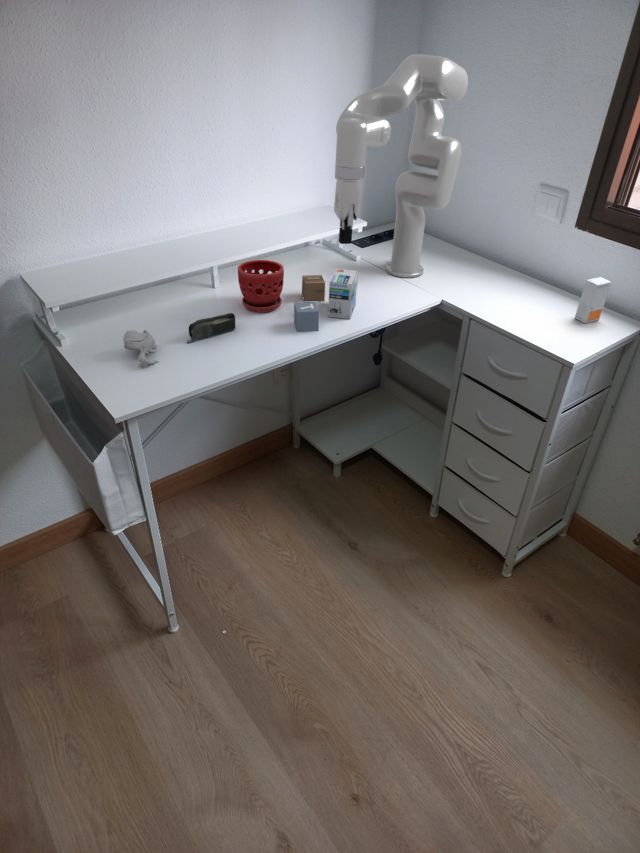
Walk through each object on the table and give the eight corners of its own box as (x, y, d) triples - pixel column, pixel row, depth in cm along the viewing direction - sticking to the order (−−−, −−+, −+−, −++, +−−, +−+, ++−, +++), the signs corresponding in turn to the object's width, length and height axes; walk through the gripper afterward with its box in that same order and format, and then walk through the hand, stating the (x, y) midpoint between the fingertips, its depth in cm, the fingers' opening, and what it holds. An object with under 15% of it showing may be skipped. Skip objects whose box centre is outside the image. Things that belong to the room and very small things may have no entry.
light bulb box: (350, 320, 178) (352, 284, 172) (327, 317, 179) (328, 281, 173) (356, 304, 187) (358, 270, 180) (334, 302, 188) (335, 267, 181)
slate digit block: (294, 322, 176) (294, 302, 172) (315, 321, 177) (315, 301, 173) (296, 332, 171) (297, 311, 167) (318, 331, 172) (319, 310, 168)
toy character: (122, 369, 151) (119, 338, 159) (157, 376, 156) (152, 346, 164) (130, 351, 148) (126, 321, 156) (165, 359, 153) (159, 329, 160)
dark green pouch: (231, 310, 170) (182, 323, 162) (237, 314, 168) (187, 327, 160) (231, 327, 173) (183, 340, 165) (237, 331, 171) (189, 345, 163)
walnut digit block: (301, 294, 192) (302, 274, 188) (321, 293, 193) (321, 274, 189) (304, 302, 187) (305, 282, 183) (324, 301, 188) (325, 282, 184)
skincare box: (585, 324, 181) (597, 285, 174) (574, 318, 184) (585, 279, 177) (600, 320, 183) (612, 281, 176) (588, 314, 186) (600, 276, 179)
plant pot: (293, 305, 184) (293, 266, 177) (260, 319, 177) (259, 279, 170) (263, 292, 192) (262, 254, 184) (230, 304, 184) (227, 265, 177)
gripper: (330, 165, 165) (326, 234, 176) (341, 179, 153) (336, 252, 164) (357, 165, 167) (352, 233, 177) (370, 179, 155) (364, 252, 165)
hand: (345, 242), depth 171 cm, fingers closed
